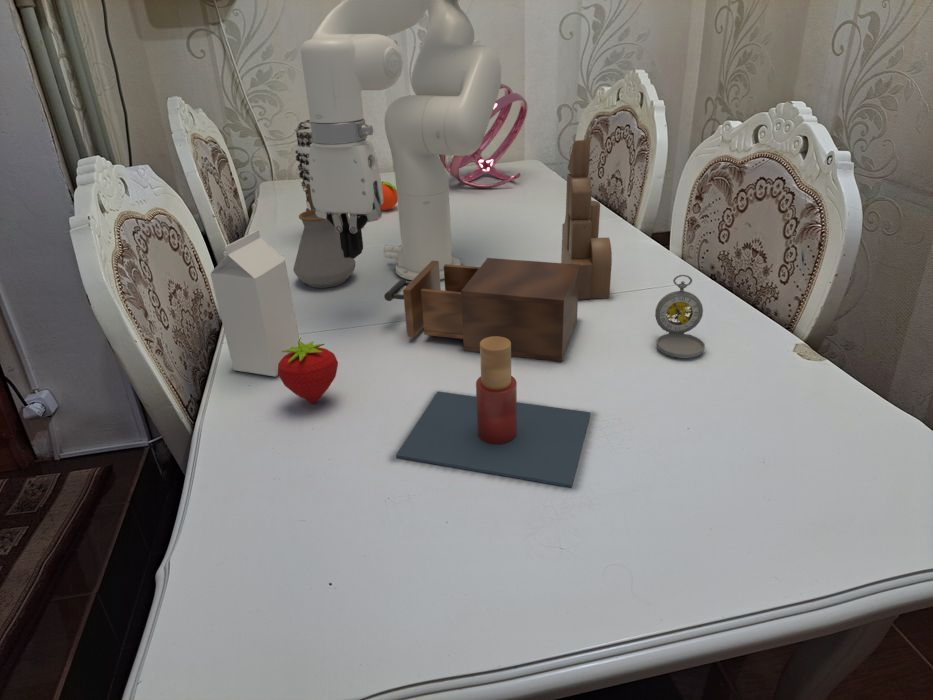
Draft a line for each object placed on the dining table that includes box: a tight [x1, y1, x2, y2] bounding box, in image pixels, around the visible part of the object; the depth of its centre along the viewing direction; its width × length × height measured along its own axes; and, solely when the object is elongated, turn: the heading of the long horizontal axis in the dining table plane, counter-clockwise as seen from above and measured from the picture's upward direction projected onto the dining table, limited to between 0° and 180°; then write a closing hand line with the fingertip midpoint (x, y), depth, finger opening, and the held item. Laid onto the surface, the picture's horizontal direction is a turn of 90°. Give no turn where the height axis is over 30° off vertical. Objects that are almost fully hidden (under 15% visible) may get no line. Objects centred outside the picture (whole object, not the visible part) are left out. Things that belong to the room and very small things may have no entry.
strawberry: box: [277, 337, 339, 404], centre depth 82 cm, size 6×8×10 cm
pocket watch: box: [654, 274, 706, 359], centre depth 92 cm, size 8×8×10 cm
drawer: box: [383, 261, 481, 340], centre depth 100 cm, size 18×12×8 cm
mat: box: [395, 391, 591, 488], centre depth 76 cm, size 20×14×1 cm
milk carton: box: [210, 229, 301, 378], centre depth 90 cm, size 7×7×19 cm
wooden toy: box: [560, 139, 613, 301], centre depth 110 cm, size 16×7×25 cm, turn 1°
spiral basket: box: [438, 83, 528, 189], centre depth 177 cm, size 28×28×27 cm
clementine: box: [380, 180, 398, 211], centre depth 161 cm, size 8×7×7 cm
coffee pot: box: [292, 184, 356, 289], centre depth 123 cm, size 21×12×15 cm, turn 17°
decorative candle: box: [294, 119, 340, 235], centre depth 139 cm, size 9×9×25 cm
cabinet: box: [461, 257, 580, 363], centre depth 97 cm, size 15×14×10 cm
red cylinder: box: [475, 336, 518, 444], centre depth 73 cm, size 5×5×12 cm
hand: (353, 255), depth 101 cm, fingers closed
